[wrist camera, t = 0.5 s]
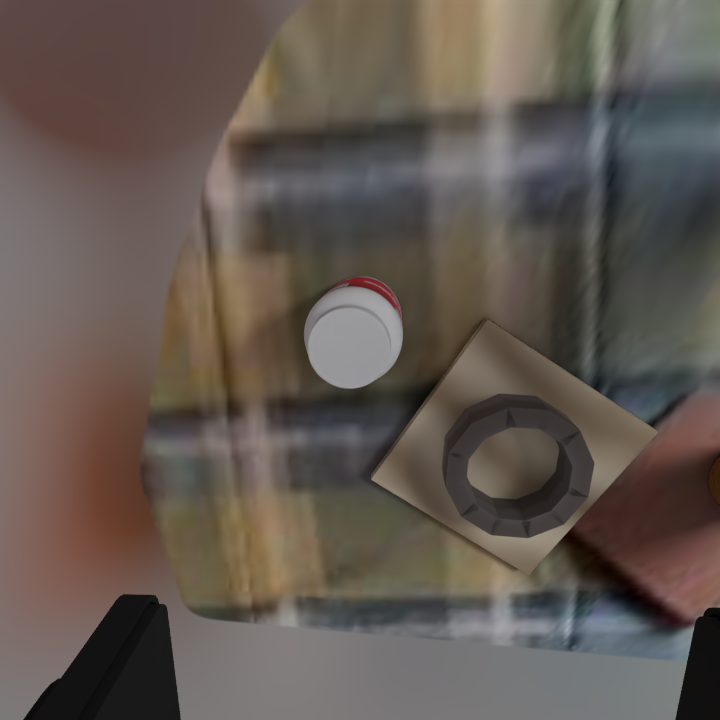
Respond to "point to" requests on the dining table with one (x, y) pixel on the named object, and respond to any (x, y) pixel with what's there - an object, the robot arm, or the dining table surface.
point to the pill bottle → (354, 332)
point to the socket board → (510, 448)
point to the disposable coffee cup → (715, 480)
